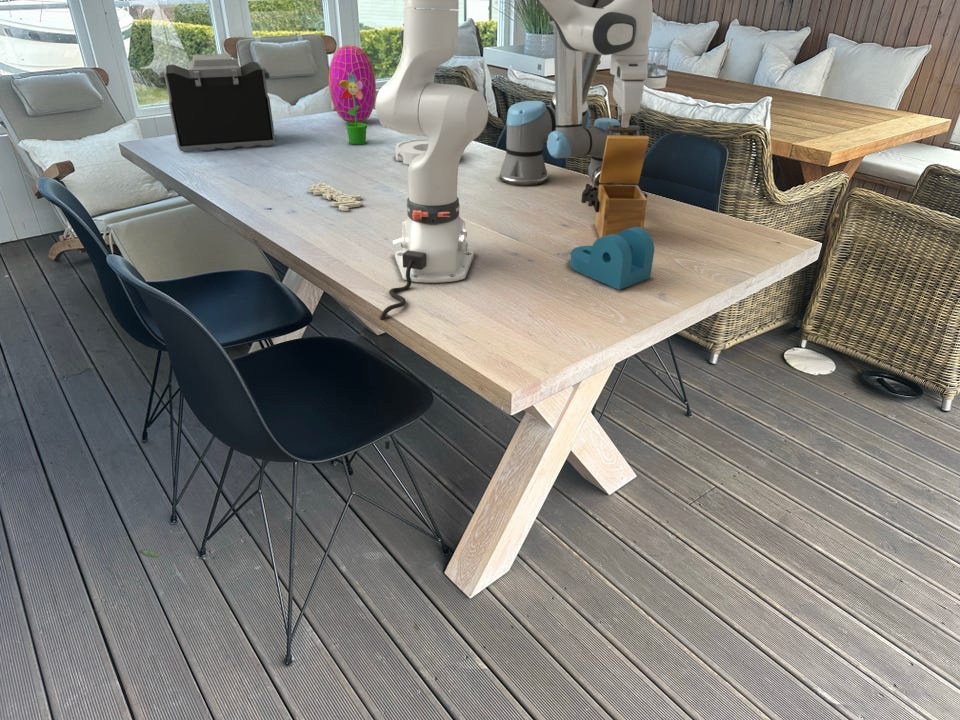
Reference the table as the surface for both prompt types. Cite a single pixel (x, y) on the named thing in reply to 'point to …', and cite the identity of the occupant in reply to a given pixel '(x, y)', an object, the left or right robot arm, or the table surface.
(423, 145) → the ashtray
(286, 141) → the table surface
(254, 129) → the electronic device
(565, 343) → the table surface
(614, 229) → the chest
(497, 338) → the table surface
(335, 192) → the decorative sign
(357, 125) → the potted flower
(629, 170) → the lid
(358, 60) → the decorative egg
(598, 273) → the blue clevis bracket
